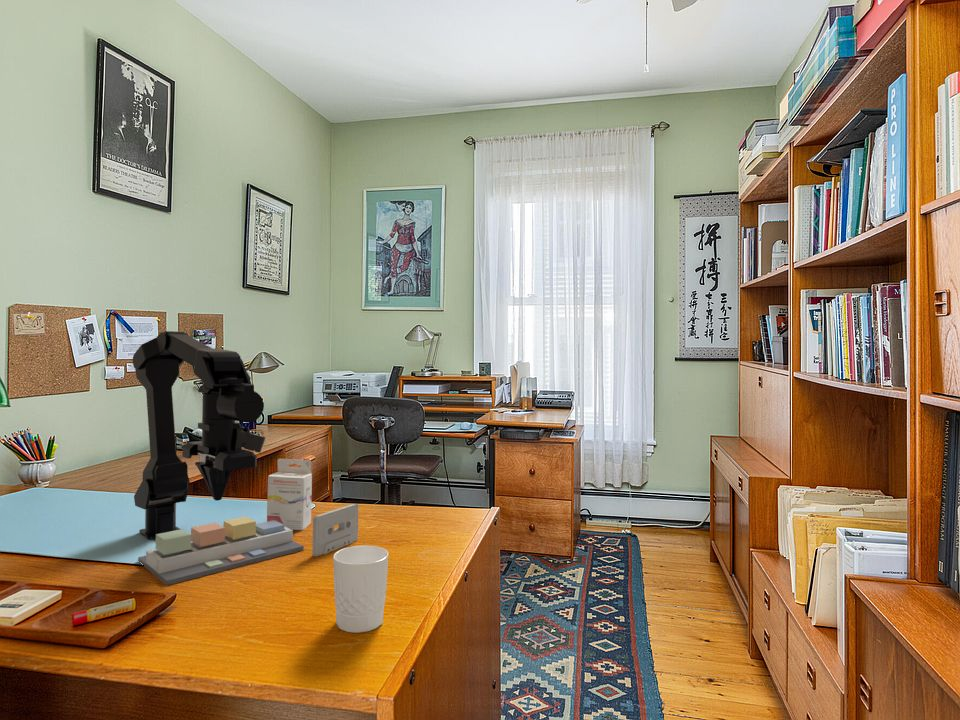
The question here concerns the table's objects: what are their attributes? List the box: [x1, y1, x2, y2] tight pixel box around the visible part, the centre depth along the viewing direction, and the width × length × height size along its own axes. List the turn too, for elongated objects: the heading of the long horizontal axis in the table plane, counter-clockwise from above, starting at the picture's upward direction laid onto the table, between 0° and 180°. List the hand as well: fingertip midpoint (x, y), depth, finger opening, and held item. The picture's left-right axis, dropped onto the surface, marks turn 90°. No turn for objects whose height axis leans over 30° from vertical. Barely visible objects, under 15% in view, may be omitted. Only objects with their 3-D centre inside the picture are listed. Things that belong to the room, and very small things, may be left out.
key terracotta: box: [190, 522, 225, 547], centre depth 108 cm, size 4×4×3 cm
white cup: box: [332, 545, 389, 634], centre depth 84 cm, size 8×8×10 cm
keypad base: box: [137, 526, 304, 586], centre depth 110 cm, size 15×25×3 cm, turn 136°
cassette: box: [311, 503, 359, 557], centre depth 116 cm, size 12×2×8 cm, turn 150°
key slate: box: [256, 520, 284, 536], centre depth 117 cm, size 4×4×3 cm
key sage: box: [155, 528, 191, 555], centre depth 104 cm, size 4×4×3 cm
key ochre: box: [222, 516, 257, 540], centre depth 112 cm, size 4×4×3 cm
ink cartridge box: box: [266, 458, 313, 531], centre depth 129 cm, size 9×5×15 cm, turn 84°
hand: (217, 499), depth 109 cm, fingers closed
